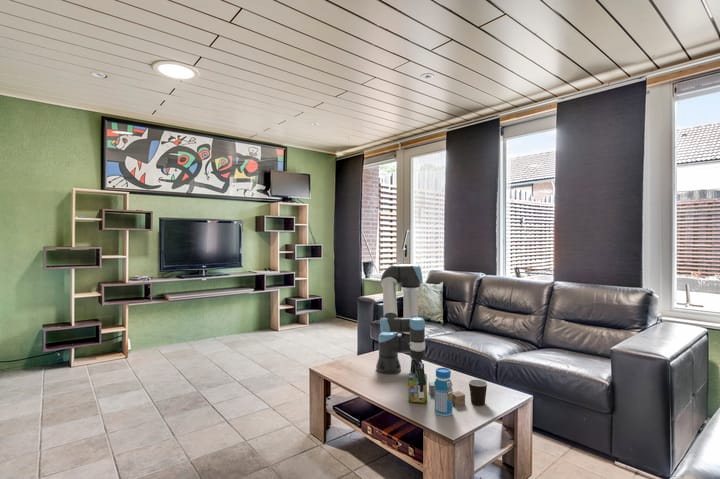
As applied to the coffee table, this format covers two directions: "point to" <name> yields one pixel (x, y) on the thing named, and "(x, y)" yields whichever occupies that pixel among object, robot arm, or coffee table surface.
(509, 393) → the coffee table surface
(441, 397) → the beverage bottle
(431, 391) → the gray cube
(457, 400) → the walnut block
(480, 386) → the coffee mug
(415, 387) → the chalk box
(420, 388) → the robot arm
